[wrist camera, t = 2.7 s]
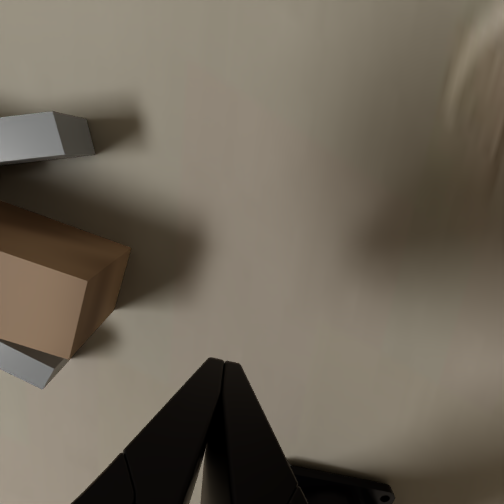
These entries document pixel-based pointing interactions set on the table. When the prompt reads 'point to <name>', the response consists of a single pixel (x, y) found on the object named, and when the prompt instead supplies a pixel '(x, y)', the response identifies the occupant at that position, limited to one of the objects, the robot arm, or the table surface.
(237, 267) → the table surface
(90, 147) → the guide
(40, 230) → the batten
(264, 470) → the robot arm
